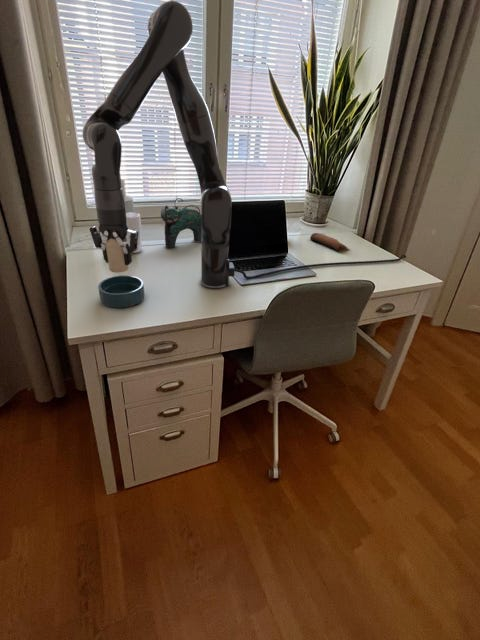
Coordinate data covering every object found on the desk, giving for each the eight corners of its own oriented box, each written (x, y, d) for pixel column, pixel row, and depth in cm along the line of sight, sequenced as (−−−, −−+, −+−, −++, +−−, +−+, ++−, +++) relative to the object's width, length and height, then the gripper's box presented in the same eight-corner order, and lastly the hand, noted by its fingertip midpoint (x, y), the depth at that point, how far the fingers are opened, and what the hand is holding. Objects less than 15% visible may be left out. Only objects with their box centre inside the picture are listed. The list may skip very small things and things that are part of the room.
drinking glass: (144, 253, 142) (141, 216, 134) (127, 254, 140) (123, 217, 132) (142, 247, 148) (138, 212, 140) (125, 249, 145) (121, 212, 137)
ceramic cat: (167, 250, 147) (164, 201, 136) (159, 245, 151) (156, 198, 140) (206, 242, 158) (206, 196, 147) (198, 238, 162) (197, 193, 152)
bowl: (145, 288, 116) (144, 275, 114) (142, 308, 105) (141, 294, 103) (104, 289, 114) (102, 275, 111) (97, 309, 103) (94, 295, 100)
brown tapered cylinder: (350, 248, 161) (348, 237, 156) (340, 258, 159) (337, 247, 154) (321, 237, 173) (318, 226, 168) (311, 246, 171) (308, 235, 167)
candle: (123, 273, 102) (118, 241, 96) (105, 271, 103) (100, 238, 97) (131, 266, 106) (128, 235, 101) (115, 264, 107) (110, 232, 102)
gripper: (141, 205, 97) (146, 261, 106) (93, 199, 99) (102, 255, 108) (128, 211, 90) (135, 271, 99) (78, 205, 92) (89, 264, 101)
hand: (118, 262), depth 103 cm, fingers closed on candle, 5 cm apart
